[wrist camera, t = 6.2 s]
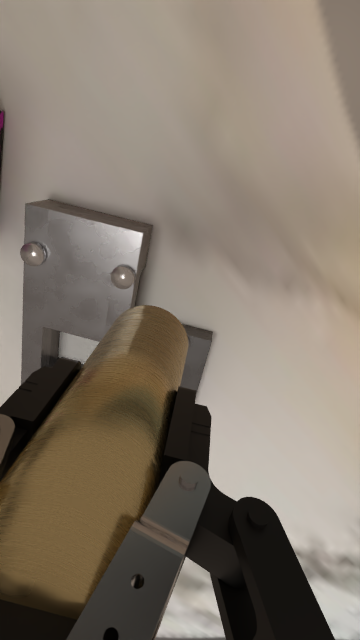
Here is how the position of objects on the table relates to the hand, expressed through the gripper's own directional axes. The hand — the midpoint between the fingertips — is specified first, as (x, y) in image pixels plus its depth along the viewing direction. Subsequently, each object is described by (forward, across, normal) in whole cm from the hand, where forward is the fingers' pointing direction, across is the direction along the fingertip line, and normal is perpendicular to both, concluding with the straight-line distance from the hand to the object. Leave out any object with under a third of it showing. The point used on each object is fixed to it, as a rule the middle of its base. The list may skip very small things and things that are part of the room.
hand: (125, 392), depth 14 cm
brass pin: (+4, 0, 0) cm, 4 cm away
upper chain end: (+21, +9, +7) cm, 24 cm away
